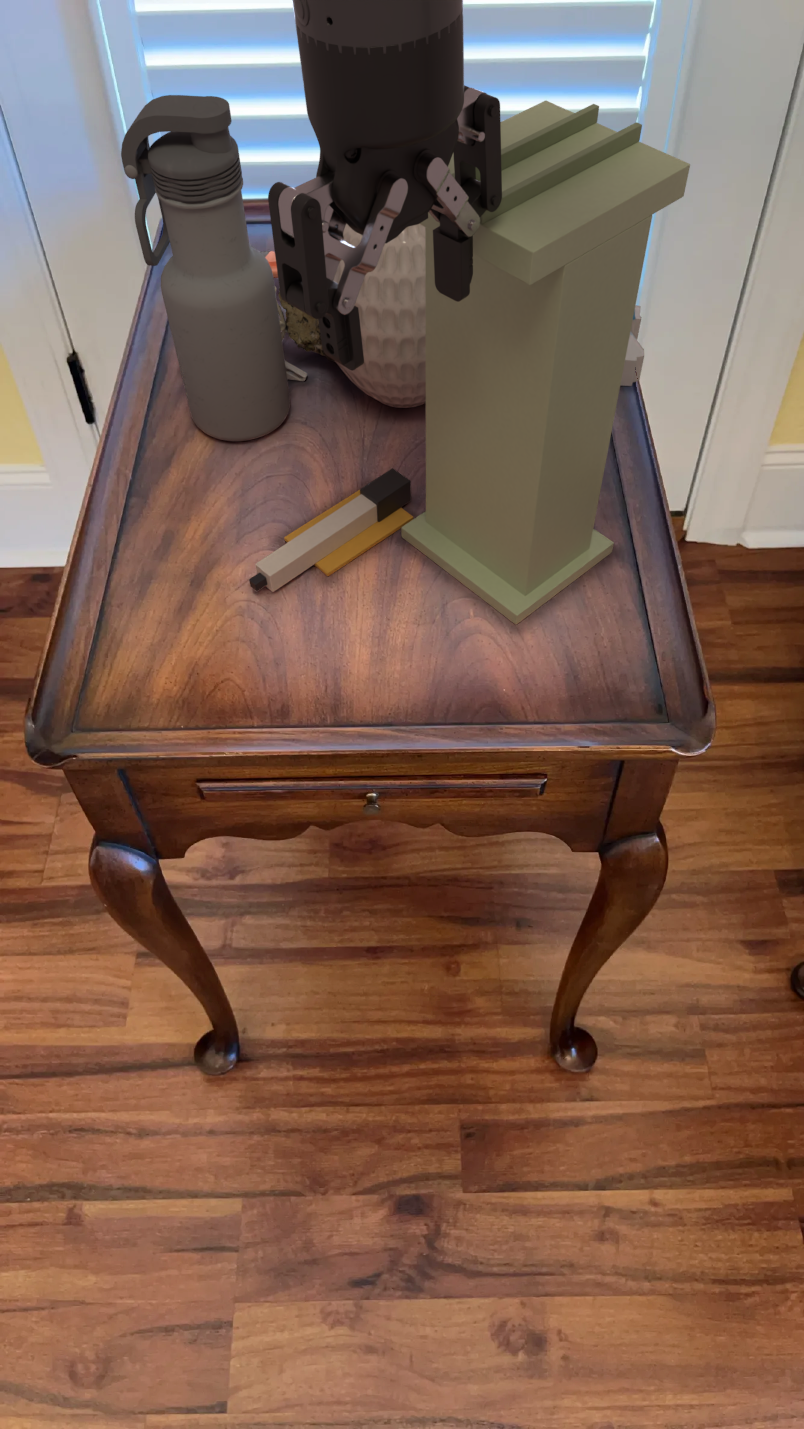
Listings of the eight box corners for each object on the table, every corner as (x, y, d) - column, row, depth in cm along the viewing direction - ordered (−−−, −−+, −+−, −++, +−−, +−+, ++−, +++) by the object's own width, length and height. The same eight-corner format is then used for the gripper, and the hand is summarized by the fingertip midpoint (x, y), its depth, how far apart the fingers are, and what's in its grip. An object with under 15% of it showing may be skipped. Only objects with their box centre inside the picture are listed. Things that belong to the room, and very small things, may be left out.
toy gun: (643, 361, 96) (649, 302, 101) (495, 347, 98) (509, 289, 103) (638, 388, 98) (644, 328, 104) (494, 373, 100) (507, 316, 106)
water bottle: (175, 440, 95) (95, 132, 72) (203, 377, 101) (137, 73, 78) (278, 449, 94) (230, 140, 71) (300, 385, 99) (263, 79, 77)
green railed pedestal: (507, 631, 81) (547, 241, 54) (392, 542, 87) (377, 152, 60) (619, 546, 86) (707, 152, 59) (504, 468, 92) (536, 78, 65)
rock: (323, 394, 101) (258, 320, 94) (328, 345, 106) (266, 271, 100) (367, 367, 98) (303, 288, 92) (369, 317, 104) (309, 240, 97)
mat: (327, 576, 85) (327, 573, 84) (284, 540, 87) (283, 537, 87) (413, 519, 88) (413, 516, 88) (369, 486, 91) (369, 483, 91)
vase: (318, 345, 103) (294, 117, 85) (471, 331, 104) (480, 103, 86) (330, 447, 94) (307, 216, 76) (498, 430, 95) (515, 198, 77)
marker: (263, 601, 83) (259, 581, 81) (245, 586, 84) (241, 566, 82) (411, 500, 89) (411, 480, 87) (393, 487, 90) (392, 467, 88)
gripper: (314, 85, 39) (355, 416, 53) (549, -33, 45) (532, 296, 58) (199, 36, 43) (265, 360, 56) (430, -69, 48) (440, 250, 61)
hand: (401, 327), depth 57 cm, fingers open, 8 cm apart
